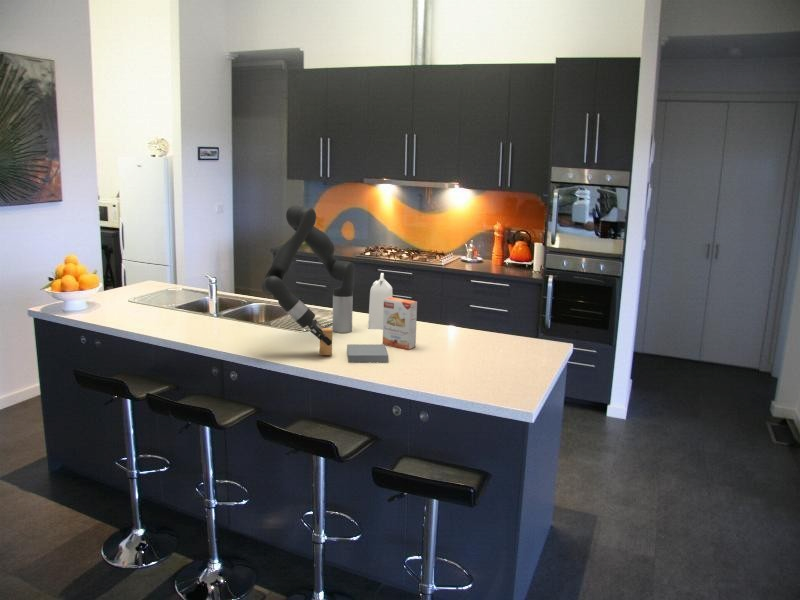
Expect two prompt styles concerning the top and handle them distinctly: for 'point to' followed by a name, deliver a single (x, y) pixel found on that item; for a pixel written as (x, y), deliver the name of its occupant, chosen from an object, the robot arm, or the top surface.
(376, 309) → the milk
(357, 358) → the grey plinth
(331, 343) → the robot arm
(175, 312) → the top surface
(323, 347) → the orange block
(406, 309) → the cracker box
